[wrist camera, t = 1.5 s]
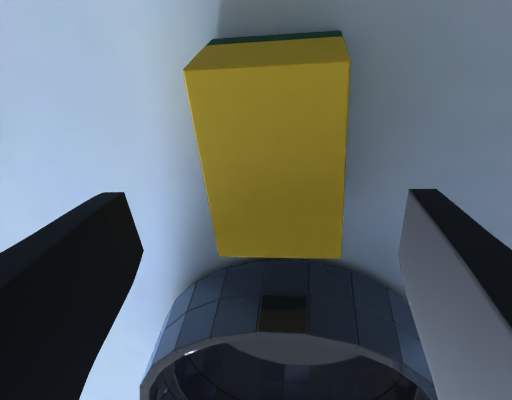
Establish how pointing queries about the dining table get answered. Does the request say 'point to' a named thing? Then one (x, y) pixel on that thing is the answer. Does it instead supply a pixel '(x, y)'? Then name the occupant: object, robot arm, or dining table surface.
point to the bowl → (288, 339)
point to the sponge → (273, 142)
